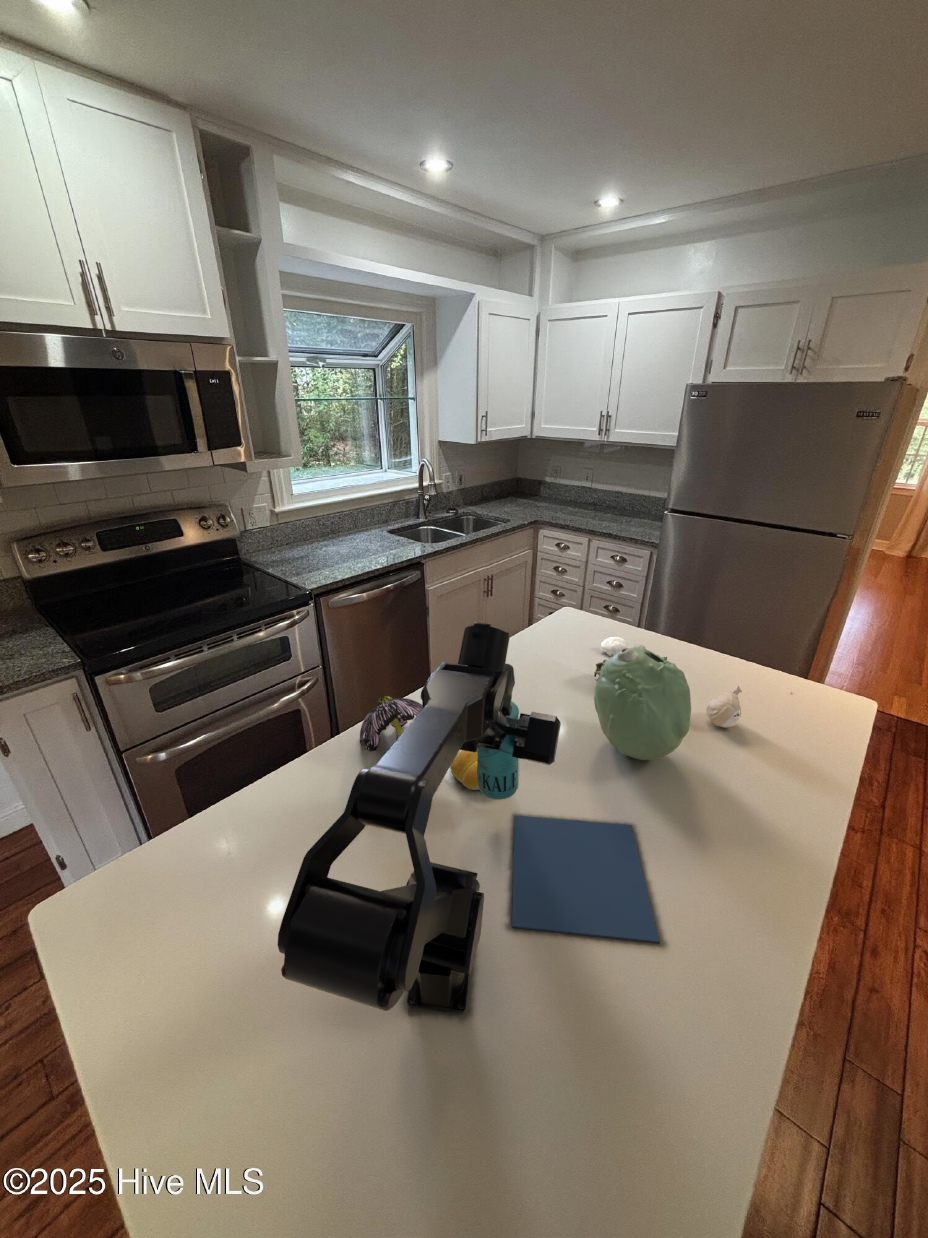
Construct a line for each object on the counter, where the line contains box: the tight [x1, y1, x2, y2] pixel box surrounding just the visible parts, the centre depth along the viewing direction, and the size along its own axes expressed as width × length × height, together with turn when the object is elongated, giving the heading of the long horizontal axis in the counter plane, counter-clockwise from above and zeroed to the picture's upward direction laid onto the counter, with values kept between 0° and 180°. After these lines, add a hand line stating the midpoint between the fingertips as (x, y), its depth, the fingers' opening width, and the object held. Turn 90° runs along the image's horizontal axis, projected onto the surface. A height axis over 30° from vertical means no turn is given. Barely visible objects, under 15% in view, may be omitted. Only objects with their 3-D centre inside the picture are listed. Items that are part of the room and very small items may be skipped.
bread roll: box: [449, 750, 480, 791], centre depth 87 cm, size 8×9×4 cm
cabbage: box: [593, 644, 692, 761], centre depth 89 cm, size 16×19×20 cm
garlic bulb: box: [705, 685, 743, 728], centre depth 99 cm, size 7×6×8 cm
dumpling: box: [600, 636, 628, 657], centre depth 127 cm, size 7×5×4 cm
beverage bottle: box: [477, 693, 521, 801], centre depth 74 cm, size 6×7×20 cm
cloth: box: [511, 815, 661, 944], centre depth 70 cm, size 18×18×1 cm
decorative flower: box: [359, 695, 423, 752], centre depth 93 cm, size 14×12×15 cm
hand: (498, 737), depth 75 cm, fingers closed on beverage bottle, 6 cm apart
